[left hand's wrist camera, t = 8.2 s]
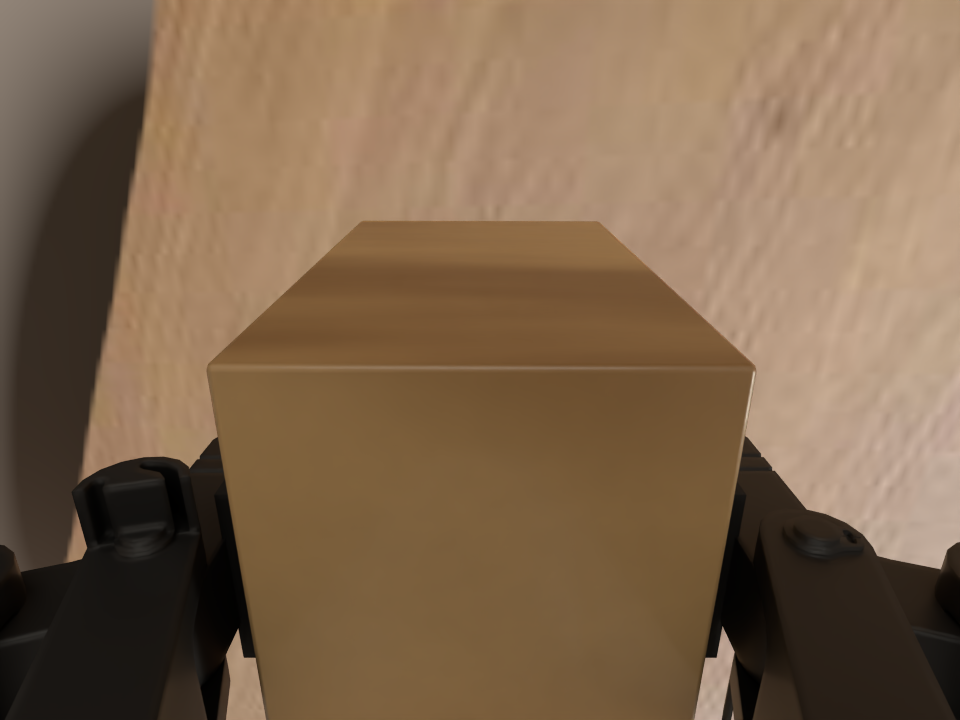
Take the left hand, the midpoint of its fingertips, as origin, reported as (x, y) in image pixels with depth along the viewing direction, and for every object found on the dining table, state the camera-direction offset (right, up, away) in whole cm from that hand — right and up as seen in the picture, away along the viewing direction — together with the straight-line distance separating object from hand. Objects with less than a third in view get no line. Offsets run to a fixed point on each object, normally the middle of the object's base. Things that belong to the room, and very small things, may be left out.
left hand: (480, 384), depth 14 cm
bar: (0, -7, +3) cm, 7 cm away
